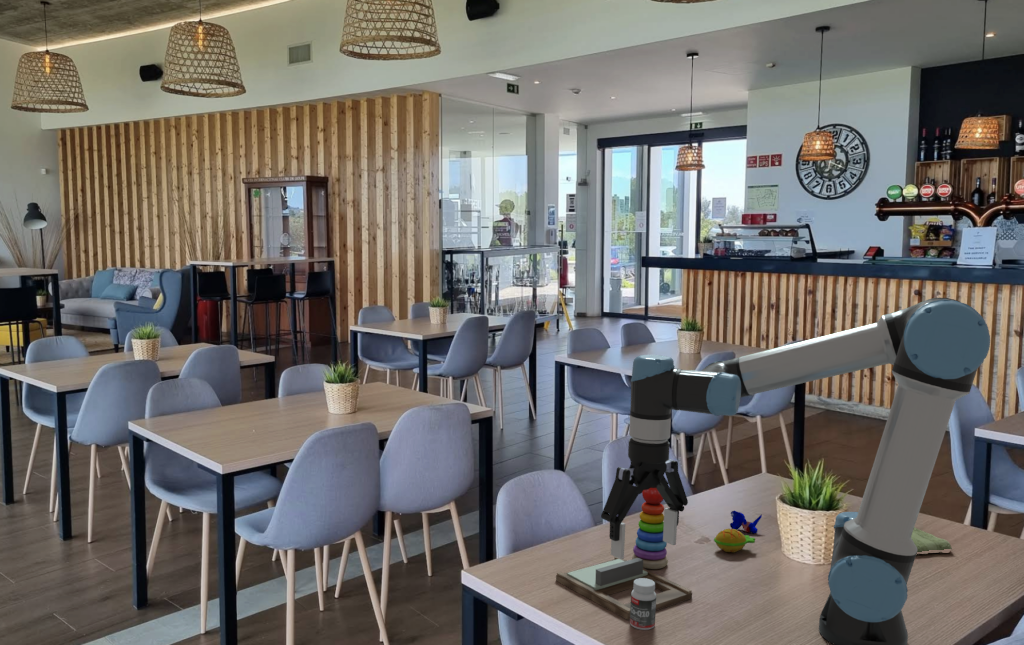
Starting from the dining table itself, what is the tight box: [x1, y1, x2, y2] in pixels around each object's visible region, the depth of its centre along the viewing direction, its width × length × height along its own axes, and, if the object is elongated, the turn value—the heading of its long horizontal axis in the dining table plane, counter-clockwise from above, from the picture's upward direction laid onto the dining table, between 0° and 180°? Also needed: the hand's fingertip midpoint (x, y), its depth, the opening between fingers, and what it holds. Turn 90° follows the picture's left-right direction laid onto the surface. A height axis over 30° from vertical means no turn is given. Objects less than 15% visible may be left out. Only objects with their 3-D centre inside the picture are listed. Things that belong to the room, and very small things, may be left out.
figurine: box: [729, 510, 763, 534], centre depth 208 cm, size 5×8×5 cm, turn 63°
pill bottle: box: [629, 578, 657, 631], centre depth 154 cm, size 5×5×8 cm
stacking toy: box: [631, 488, 669, 570], centre depth 184 cm, size 8×8×19 cm
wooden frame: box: [555, 556, 693, 621], centre depth 170 cm, size 22×18×2 cm
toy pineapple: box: [713, 528, 756, 553], centre depth 194 cm, size 7×10×5 cm
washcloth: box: [911, 526, 953, 552], centre depth 202 cm, size 13×18×3 cm
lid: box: [567, 558, 648, 590], centre depth 174 cm, size 9×15×4 cm, turn 125°
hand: (643, 549), depth 153 cm, fingers open, 13 cm apart
